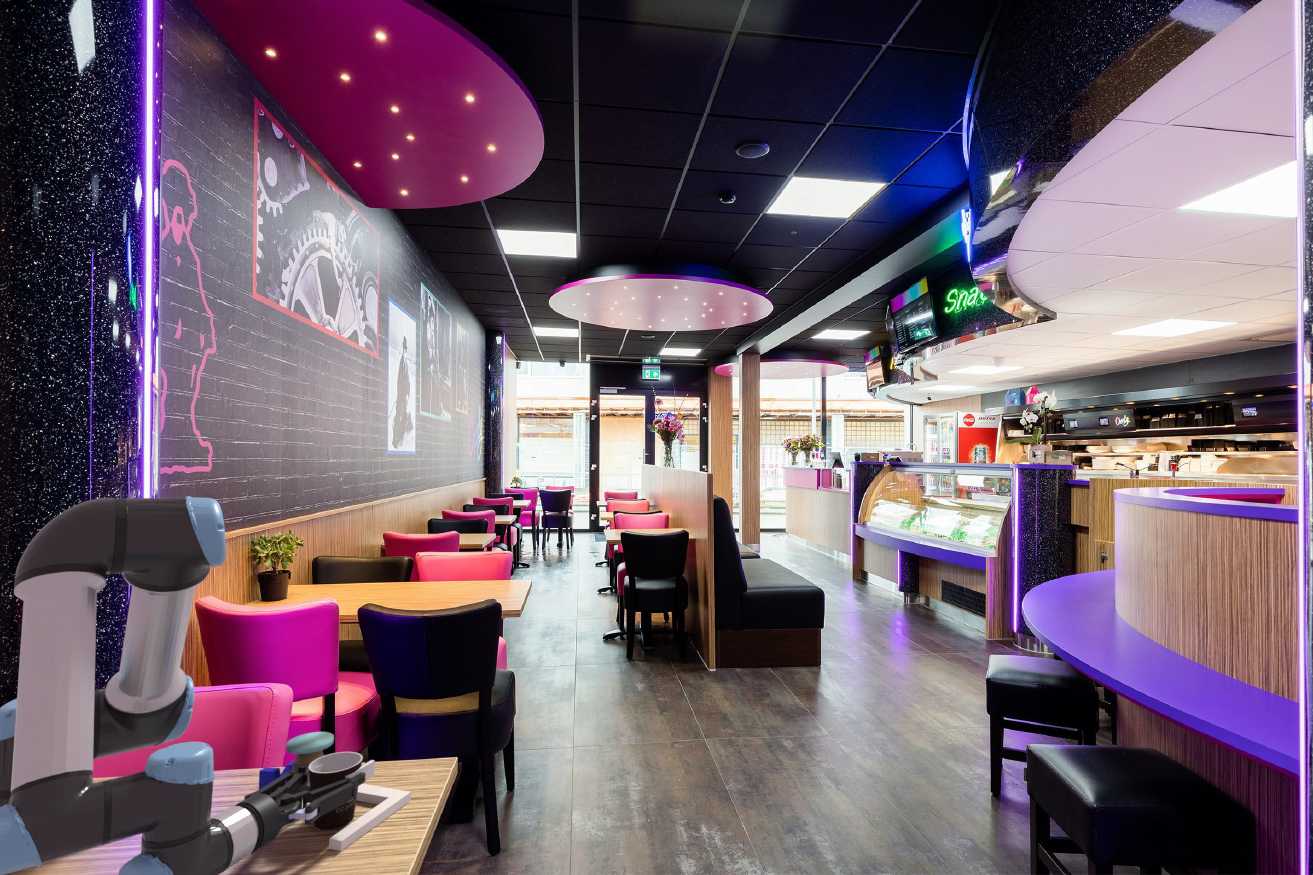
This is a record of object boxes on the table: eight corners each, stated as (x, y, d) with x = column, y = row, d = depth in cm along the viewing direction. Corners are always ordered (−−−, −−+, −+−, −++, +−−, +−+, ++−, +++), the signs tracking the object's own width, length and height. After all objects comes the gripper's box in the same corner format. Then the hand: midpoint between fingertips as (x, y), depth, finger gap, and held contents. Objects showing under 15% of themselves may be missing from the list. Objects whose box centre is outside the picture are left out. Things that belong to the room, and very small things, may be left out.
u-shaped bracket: (260, 834, 107) (260, 824, 107) (337, 787, 123) (337, 779, 123) (341, 850, 102) (341, 840, 102) (410, 800, 118) (411, 791, 118)
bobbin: (274, 800, 118) (276, 745, 119) (308, 781, 126) (310, 729, 127) (308, 806, 116) (310, 750, 117) (341, 786, 124) (343, 734, 124)
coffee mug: (317, 839, 105) (320, 777, 106) (298, 821, 111) (300, 762, 112) (386, 812, 114) (387, 755, 115) (364, 796, 120) (366, 742, 120)
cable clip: (294, 773, 129) (295, 743, 130) (315, 775, 129) (316, 745, 129) (250, 803, 118) (252, 770, 118) (272, 805, 117) (274, 771, 117)
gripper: (189, 845, 97) (310, 778, 119) (293, 868, 91) (400, 793, 113) (192, 794, 98) (311, 737, 120) (295, 814, 92) (401, 750, 114)
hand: (354, 764), depth 116 cm, fingers open, 7 cm apart
